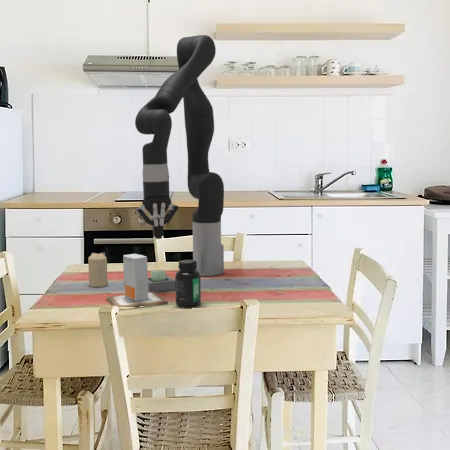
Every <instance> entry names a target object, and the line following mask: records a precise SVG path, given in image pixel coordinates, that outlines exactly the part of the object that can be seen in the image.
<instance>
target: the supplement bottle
mask: <svg viewBox="0 0 450 450" xmlns="http://www.w3.org/2000/svg"><path fill="white" fill-rule="evenodd" d="M177 267H178V271H176V273H175V275H174V277H175V278H174V280H175V291H174V292H175V305H176V306H177V308H182V307H184V308H183V309H191V308H192V307H194V308H197V306H198V307H200V306H201V304H202V283H201V279H202V278H201V277H202V276H201V275H200V273H199V271H197V270H196V268H197V261H195V260H193V259H184V260H183V259H182V260H179V261H178V266H177Z"/></svg>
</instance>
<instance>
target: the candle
mask: <svg viewBox="0 0 450 450" xmlns="http://www.w3.org/2000/svg"><path fill="white" fill-rule="evenodd" d="M87 261H88V284H89V287H91V288H101V287H102V288H103V287H106V286H108V260H107V257H106V255H105V254H104V253H103V252H100V253H96V252H92V253H91V255H90V256H88V260H87Z"/></svg>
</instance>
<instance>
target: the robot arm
mask: <svg viewBox="0 0 450 450" xmlns="http://www.w3.org/2000/svg"><path fill="white" fill-rule="evenodd" d="M176 44H177V45H176V60H177V66H178V70H176V71H175V72H174V73H172V74H171V75H170V76H169V77H167V78H166V80H165V81H164V82H163V83H162V85H161V86H160V87H159V89H158V91H157V92H156V94H155V95H154V97H153V98H151V99H150V100H149V101H148V102H147V103H146V104H144V106H143V107H141V108H140V109H139V111H138V112H137V114H136V116H135V120H134V125H135V129H136V130H137V131H138V132H139V133H140V134H142V135H153V137H152V140H151V142H149V143H148V142H147V143H145V144H144V145H143V146H142V188H143V189H142V190H143V191H142V192H143V193H142V195H143V198H142V199H143V200H142V202H141V203H142V204H140V206H139V207H136V208H135V212H136V214H138V216H140V218H141V219H142V220H143V221H144V222H145V223H146V224H147V225H149V226H152V236H153V238H155V240H160V239H163V237H164V225H166V224H169V223H170V222H171V220H172V218H173V217H174V216H175V214H176V213H177V212H178V210H179V206H178V205H176V204H175V203H173V202H172V200H171V197H170V173H169V172H170V171H169V167H168V145H169V141H170V136H171V132H172V127H173V121H172V117H171V114H172V113H173V112H175V111H176V109H177V108H178V107H179V104H180V103H181V101H183V114H184V126H185V127H184V128H185V134H186V135H185V136H186V137H185V139H186V149H187V190H188V192H189V194H190V195H191V197H192V198H194V199H196V200H198V201H197V202H198V203H197V205H198V206H197V209H196V210H195V211H193V213H192V216H191V217H192V220H191V221H192V260H195V261H197V268H196V270H197V271H199V273H200V275H201V277H211V276H212V277H214V276H219V275H221V274H225V268H224V267H225V265H224V264H225V263H224V262H225V257H224V255H225V254H224V252H225V251H224V250H225V248H224V244H222V215H223V213H224V201H225V186H224V182H223V178H222V177H221V176H220V175H219V174H218V173H217V172H212V171H210V168H209V151H210V147H211V145H212V140H213V139H214V132H215V120H214V108H213V106H212V103H211V102H210V100H209V98H208V97H207V96H206V94H205V92H204V91H203V89H202V87H201V85H200V83H199V80H198V78H199V77H200V76H201V75H202V74H203V73H204V71H206V70H207V68H208V67H209V66H210V65H211V64H212V63H213V61H214V59H215V57H216V51H217V50H216V44H215V41H214V39H213V38H212V37H211V36H209V35H208V34H199V35H193V36H192V35H191V36H186V37H180V39H179V40H178V42H177V43H176ZM167 210H168V211H167ZM146 211H147V212H148V214H149V216H150V217H149V216H148V215H147V214H146ZM166 212H167V213H166ZM165 213H166V214H165Z"/></svg>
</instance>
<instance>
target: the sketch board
mask: <svg viewBox="0 0 450 450" xmlns="http://www.w3.org/2000/svg"><path fill="white" fill-rule="evenodd" d="M105 298H106V299H105V300H106V301H107V302H108V303H109V304H110V303H111V304H110V305H111V306H112V305H115V306H118V307H140V306H149V307H154V306H153V305H157V306H164V305H168V304H169V302H168V300H166V299H165V298H163V297H162V296H161V295H160V294H159V293H156V292H148V299H145V300H140V301H134V300H132V299H129V298H126V297H124V294H119V295H112V296H106V297H105Z"/></svg>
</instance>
